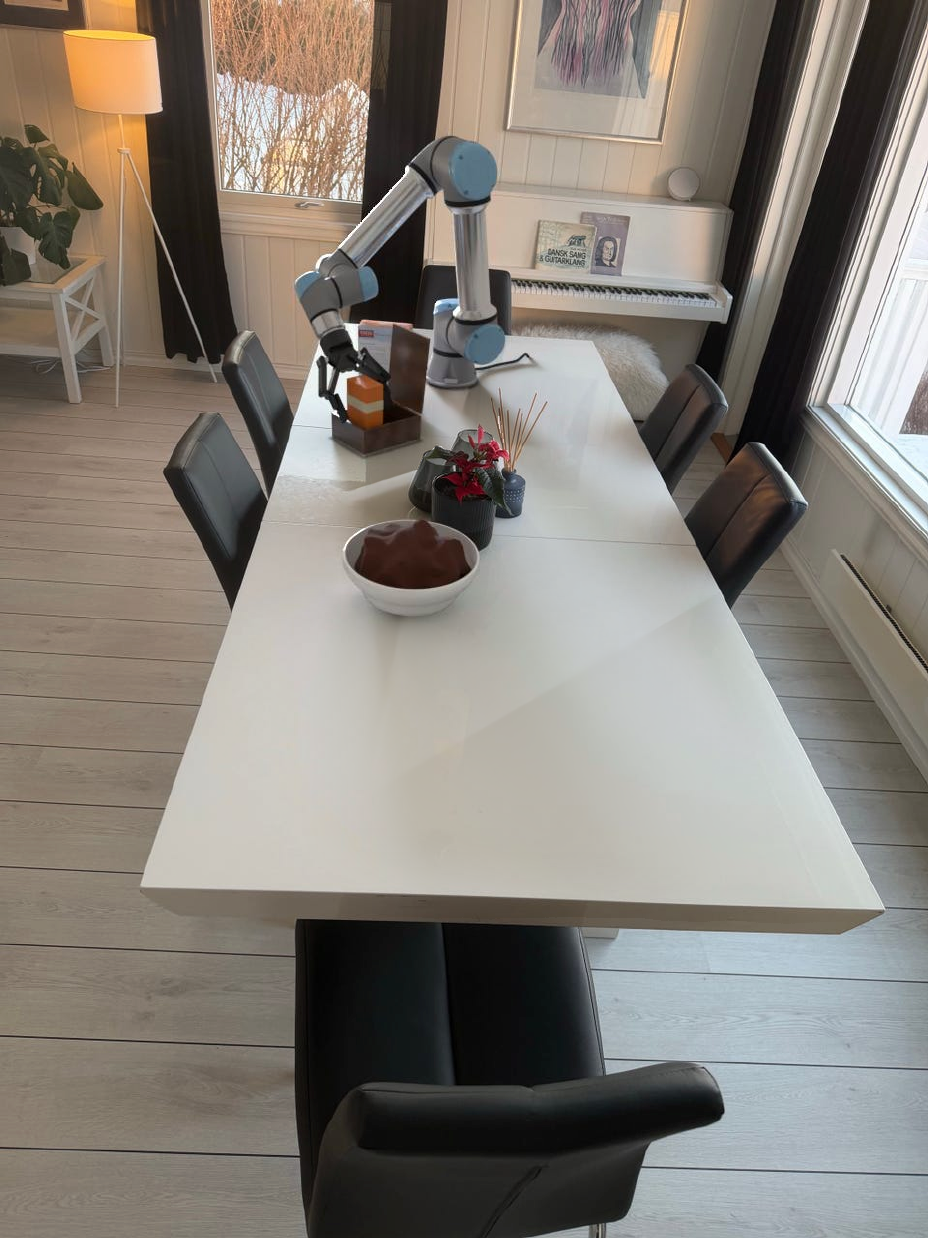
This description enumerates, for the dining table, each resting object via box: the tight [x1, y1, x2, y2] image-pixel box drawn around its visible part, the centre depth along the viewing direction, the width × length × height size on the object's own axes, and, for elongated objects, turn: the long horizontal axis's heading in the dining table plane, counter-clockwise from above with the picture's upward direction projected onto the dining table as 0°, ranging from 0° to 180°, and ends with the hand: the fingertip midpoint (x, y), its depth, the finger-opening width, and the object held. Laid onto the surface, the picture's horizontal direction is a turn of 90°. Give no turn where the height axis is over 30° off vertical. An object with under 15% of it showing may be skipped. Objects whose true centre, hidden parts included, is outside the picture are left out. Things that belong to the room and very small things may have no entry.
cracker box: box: [357, 319, 414, 406], centre depth 230 cm, size 14×6×21 cm, turn 84°
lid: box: [388, 322, 431, 415], centre depth 211 cm, size 18×14×1 cm
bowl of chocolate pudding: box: [341, 518, 482, 617], centre depth 154 cm, size 25×25×15 cm
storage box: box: [330, 401, 422, 456], centre depth 213 cm, size 18×14×7 cm
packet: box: [346, 375, 383, 430], centre depth 208 cm, size 5×8×15 cm, turn 42°
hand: (369, 414), depth 207 cm, fingers open, 13 cm apart
